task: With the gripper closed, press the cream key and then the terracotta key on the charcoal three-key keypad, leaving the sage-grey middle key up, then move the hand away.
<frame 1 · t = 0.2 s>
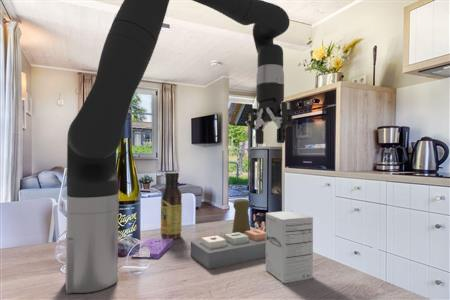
hand: (269, 143, 79), 28 cm above the table, fingers open, 8 cm apart
keypad: (235, 254, 73), on the table
cream key: (213, 243, 70), point 4 cm above the table, slide at 0.0 cm
terracotta key: (256, 236, 76), point 4 cm above the table, slide at 0.0 cm
sage key: (236, 239, 73), point 4 cm above the table, slide at 0.0 cm
supplement box: (288, 275, 61), on the table
sponges: (153, 252, 77), on the table
cork: (241, 234, 93), on the table
sauce bottle: (171, 238, 89), on the table
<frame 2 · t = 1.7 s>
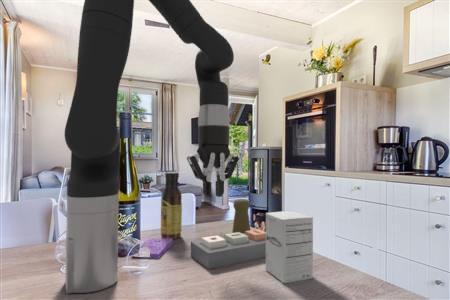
hand: (213, 196, 70), 15 cm above the table, fingers closed
nothing on the table moved.
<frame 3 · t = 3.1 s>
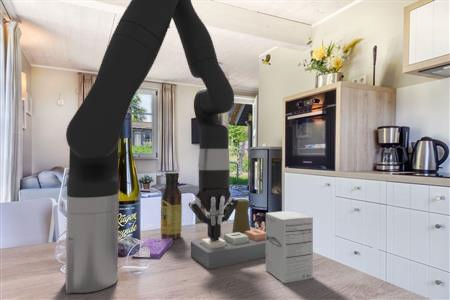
hand: (214, 239, 70), 5 cm above the table, fingers closed
cream key: (213, 244, 70), point 3 cm above the table, slide at 0.4 cm, touching gripper
everything else where it was.
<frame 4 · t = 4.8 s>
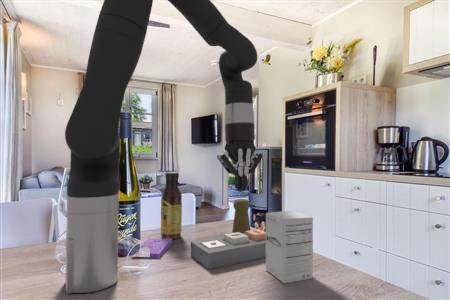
hand: (241, 190, 74), 16 cm above the table, fingers closed
cream key: (213, 248, 70), point 3 cm above the table, slide at 1.2 cm
everything else where it was.
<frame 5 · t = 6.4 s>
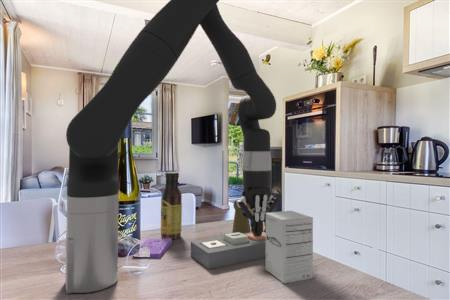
hand: (257, 234, 76), 4 cm above the table, fingers closed
terracotta key: (256, 239, 76), point 3 cm above the table, slide at 0.8 cm, touching gripper
everything else where it was.
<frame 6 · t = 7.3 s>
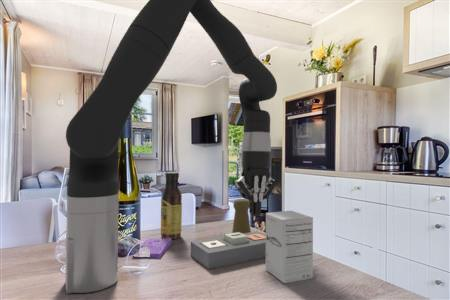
hand: (255, 215, 76), 9 cm above the table, fingers closed
terracotta key: (256, 241, 76), point 3 cm above the table, slide at 1.2 cm
everything else where it was.
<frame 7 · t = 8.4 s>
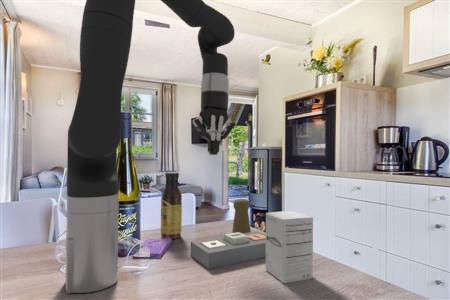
hand: (213, 154, 80), 25 cm above the table, fingers closed
nothing on the table moved.
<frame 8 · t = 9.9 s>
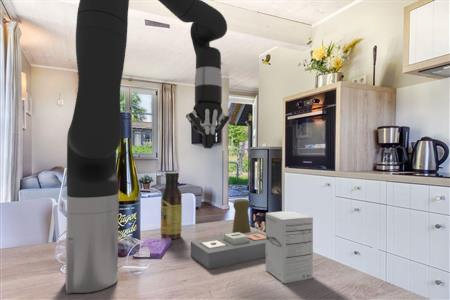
hand: (208, 148, 81), 27 cm above the table, fingers closed
nothing on the table moved.
at the end: cream key slide at 1.2 cm; terracotta key slide at 1.2 cm; sage key slide at 0.0 cm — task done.
